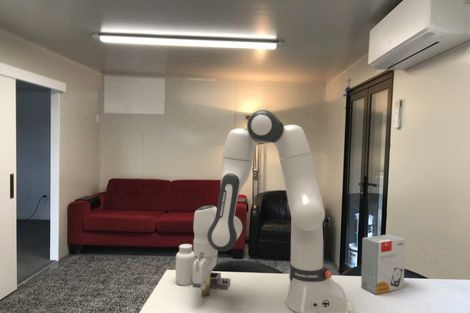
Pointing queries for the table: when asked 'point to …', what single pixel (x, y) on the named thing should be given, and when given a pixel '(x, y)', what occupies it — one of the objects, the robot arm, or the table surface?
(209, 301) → the table surface
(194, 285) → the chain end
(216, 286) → the chain end
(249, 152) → the robot arm
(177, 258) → the pill bottle
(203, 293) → the pin
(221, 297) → the table surface
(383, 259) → the hard drive box
